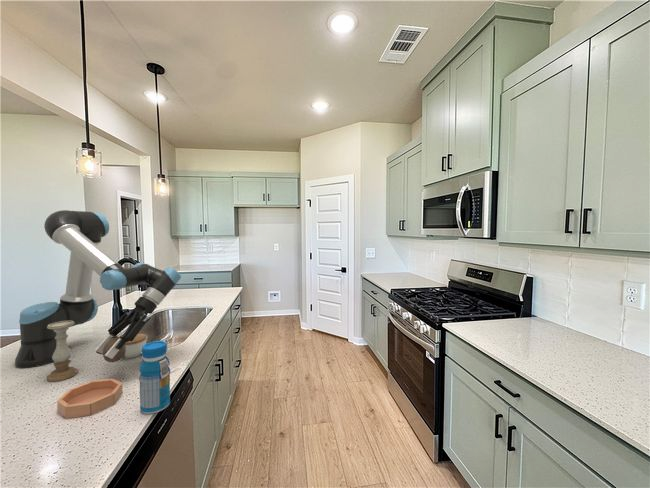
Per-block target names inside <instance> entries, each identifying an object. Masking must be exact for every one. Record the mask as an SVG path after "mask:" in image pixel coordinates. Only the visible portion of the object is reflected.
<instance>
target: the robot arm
mask: <svg viewBox="0 0 650 488" xmlns="http://www.w3.org/2000/svg"><path fill="white" fill-rule="evenodd" d="M43 225H44V226H43V227H44V230H45V234H46V235H47V236H48V238H50V239H51V240H52V241H53V242H54V243H56V244H61V245H62V246H64V247H65V248H66V249H67V250H68V251H70V257H69V265H68V272H67V279H66V286H65V294H63V295H61V296H60V299H59V303H58V302H56V301H46V302H43V303H38V304H37V303H36V304H32V305H30V306H28V307H25V308H23V309H22V310H21V312H20V314H19V320H18V323H19V332H20V347H19V348H18V349H19V350H18V351H17V355H16V357H15V358H14V359H15V360H14V364H15V367H16V368H21V369H25V368H26V369H27V368H34V367H39V366H40V367H42V366H44V365H48V364H51V363H55V361H53V359H52V356H53V353H54V351H55V349H56V345H57V341H56V339H54V338H55V337H56V332H54V329H47V326H48V325H49V324H51V323H55V322H60V321H74V322H75V323H74V325H72V326H70V327H69V328H71V327H75V326H78V325H83V324H85V323H87V322H90V321H92V320H94V318H95V317H96V316H97V314H98V311H99V305H98V302H97V300H96V299H95V298H94V296H93V295H92V294H91V293H90V292H91V286H92V278H93V271H94V273H96V274H97V275H98V276H99V283H100V285H101V287H102V288H103V289H104V290H106V291H114V290H121V289H125V288H128V287H129V288H130V287H135V286H139V285H143V284H144V285H148V288H147V289H146V290H145V291H144V292H143V293H142V295H141V296H140V297H139V298H138V299H137V300H136V301H135V302H134V306H135V307H134V308H133V309H131V310H130V309H126V310H125V311H124V313H123V314H122V315H121V316H120V317H119V318H118V319H117V321H116V322H114V323H113V324H112V326H110V328H108V330H107V332H108V335H107V336H106V337H105V338H104V340H103V341H101V343H100V344H99V345H98V346H97V347H96V348H95V349H94V351H95V352H98V353H99V354H101V355H103V349H104V347H105V345H106V344H107V343H108V341H109V340H110V338H111V337H114V336H118V335H119V334H120V333H121V332H122V331H123V330H125V329H126V330H125V332H124V334H122V336H119V339H118V340H117V342H116V343H115V344H114V345H113V346H112V347H111V349H110V350H109V351H108V352H107V353H106V354H105V356H107V357H109V358H111V359H112V358H113V357H114V356H115V355H116V354H117V352H118V351H119V350H120V349H121V348H122V347H123V346H124V344H125V343H126V342H128V341H133V340H134V338H135V337H136V336H137V334H140V332H141V330H142V329H143V327H144V326H145V325H146V324H147V323H148V322H149V321H150V320H151V318H150V316H148V314H149V315H151V314H153V313H154V311H155V310H156V309H157V308H158V306H159V305H160V304H161V303H162V302H163V300H164V299H165V298H166V297H167V295H168V294H169V293H170V292H171V291H172V290H173V289H174V287H175V286H177V284H178V282H179V281H180V280H181V278H182V275H181V273H180V272H178V270H176V269H175V268H173V267H171V266H169V267H168V266H167V267H166V268H165V269H163V270H161V269H160V268H157V267H154V266H153V265H150V264H149V263H144V262H137V263H136V264H134V265H132V267H127V268H125V267H123V266H122V265H121V264H120V263H119V262H117V260H115V259H114V258H113V257H112V256H111V255H109V254H108V253H106V252H105V251H104V250H103V249H102V248H101V247H99V246H98V245H99V244H100V243H101V242H102V238H103V237H107V235H108V234H109V233H110V232H109V231H110V223H109V221H108V219H107V217H106V216H105V215H104V214H102V213H100V212H95V211H83V210H82V211H81V210H68V209H66V210H65V209H64V210H63V209H62V210H58V211H54V212H53V213H50V214H49V215H48V217H47V218H46V219H45V221H44V224H43ZM120 338H121V339H120Z"/></svg>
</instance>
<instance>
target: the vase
mask: <svg viewBox="0 0 650 488" xmlns="http://www.w3.org/2000/svg"><path fill="white" fill-rule="evenodd" d="M119 338H120V336H118V335H117V336H114V337H111V338H110V340H109V341H108V343H107V344H106V345H105V347H104V349H103V353H102V357H103V359H104V361H106V362H107V363H110V364H111V363H117V362H119V361H121V360H122V359H123V358H125V357H124V355H125V352H126V346H125V344H124V346H123V347H122V348H121V349H120V350H119V351H118V352H117V354H116V355H115V356H114V357H113V358H112V359H111V358H109V357H107V356H105V354H106V353H107V352H108V351H109V350H110V349H111V347H112V346H113V345H114V344H115V343H116V342H117V340H118V339H119Z"/></svg>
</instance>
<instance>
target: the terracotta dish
mask: <svg viewBox="0 0 650 488" xmlns="http://www.w3.org/2000/svg"><path fill="white" fill-rule="evenodd" d="M122 395H123V383H122V382H120V381H119V380H117V379H115V378H106V379H105V378H104V379H98V380H96V379H95V380H91V381H89V382H86V383H83V384H80V385H78V386H75V387H73V388H70V389H68V390H67V391H66V392H65V393H63V394H62V396H61V397H59V398H58V399H57V400H56V401H57V402H56V404H57V408H56V409H57V410H56V411H57V413H58V414H60V415H61V416H62V417H63V418H64V419H72V418H79V417H81V418H82V417H87V416H92V415H94V414H97V413H98V412H101V411H103V410H105V409H108V408H109V407H112V406H114V405H115V404H116V403H117V402H118V400H119V399H120V398H121V397H122Z"/></svg>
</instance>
